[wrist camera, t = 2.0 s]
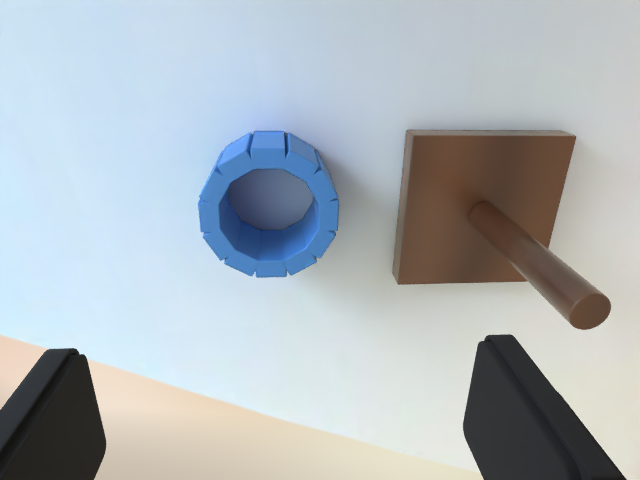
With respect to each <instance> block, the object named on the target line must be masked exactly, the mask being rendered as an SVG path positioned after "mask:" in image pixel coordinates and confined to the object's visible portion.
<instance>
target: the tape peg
mask: <svg viewBox="0 0 640 480" xmlns="http://www.w3.org/2000/svg"><path fill="white" fill-rule="evenodd" d="M575 139H576V136H575V135H572V134H569V133H566V132H563V131H528V130H407V131H406V140H405V150H404V160H403V171H402V181H401V191H400V201H399V211H398V222H397V232H396V242H395V252H394V263H393V275H394V277H395V279H396V281H397V283H398V284H399V285H400V284H442V283H483V282H524V281H528V282H529V283H530V284H531V285H532V286H533V287H534V288H535V289H536V290H537V291H538V292H539V293H540V294H541V295H542V296H543V297H544V298H545V299H546V300H547V301H548V302H549V303H550V304H551V305H552V306H553V307H554V308H555V309H556V310H557V311H558V312H559V313H560V314H561V315H562V316H563V317H564V318H565V319H566V320H567V321H568V322H569V323H570V324H571V325H572V326H573V327H575V328H577V329H582V330H587V329H591V328H594V327H596V326H598V325H600V324H601V323H602V322H603V321H605V319H606V318H607V317H608V315H609V313H610V310H611V304H610V301H609V299H608V298H607V297H606V296H605V295H604V294H603V293H601V292H600V291H599V290H598V289H596V288H595V287H594V286H593V285H591V284H590V283H589V282H588V281H587V280H585V279H584V278H583V277H582V276H580V275H579V274H578V273H577V272H575V271H574V270H573V269H572V268H571V267H569V266H568V265H567V264H566V263H564V262H563V261H562V260H561V259H559V258H558V257H557V256H556V255H554V254H553V253H552V252H551V251H550V250H548V247H549V243H550V239H551V235H552V231H553V227H554V223H555V219H556V215H557V211H558V207H559V203H560V199H561V195H562V191H563V187H564V183H565V179H566V175H567V171H568V167H569V163H570V159H571V155H572V151H573V147H574V143H575Z"/></svg>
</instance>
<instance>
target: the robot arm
mask: <svg viewBox="0 0 640 480" xmlns="http://www.w3.org/2000/svg"><path fill="white" fill-rule="evenodd" d="M463 430H464V436H465V439H466V441H467V443H468V445H469V448H470V450H471V452H472V454H473V457H474V459H475V461H476V463H477V465H478V468H479V470H480V472H481V474H482V476H483V479H484V480H626V478H625V477H624V476H623V475H622V473H621V472H620V471H619V469H618V468H617V467H616V466H615V464H614V463H613V462H612V460H611V459H610V458H609V457H608V455H607V454H606V453H605V451H604V450H603V449H602V448H601V446H600V445H599V444H598V442H597V441H596V440H595V439H594V437H593V436H592V435H591V433H590V432H589V431H588V430H587V428H586V427H585V426H584V424H583V423H582V422H581V421H580V419H579V418H578V417H577V415H576V414H575V413H574V411H573V410H572V409H571V408H570V406H569V405H568V404H567V402H566V401H565V400H564V399H563V397H562V396H561V395H560V394H559V393H558V392H557V391H556V390H555V389H554V388H553V386H552V385H551V384H550V382H549V381H548V380H547V379H546V377H545V376H544V375H543V373H542V372H541V371H540V369H539V368H538V367H537V366H536V364H535V363H534V362H533V360H532V359H531V358H530V357H529V355H528V354H527V353H526V351H525V350H524V349H523V348H522V346H521V345H520V344H519V342H518V341H517V340H516V338H515V337H514V336H513V335H510V334H509V335H488V336H486V338H485V340H484V341H481V342H479V344H478V347H477V352H476V357H475V363H474V368H473V373H472V379H471V384H470V390H469V395H468V400H467V406H466V411H465V416H464V422H463ZM105 450H106V438H105V434H104V429H103V425H102V421H101V417H100V413H99V408H98V404H97V400H96V396H95V391H94V388H93V383H92V378H91V374H90V370H89V366H88V361H87V358H86V356H85V355H83V354H81V355H79V352H78V351H77V349H74V348H69V349H49V350H47V351H46V352H44V354H43V355H42V356H41V357H40V359H39V360H38V362H37V363H36V364H35V365H34V367H33V368H32V369H31V371H30V372H29V373H28V375H27V376H26V377H25V379H24V380H23V381H22V382H21V384H20V385H19V386H18V388H17V389H16V390H15V392H14V393H13V394H12V396H11V397H10V398H9V399H8V401H7V402H6V404H5V405H4V406H3V407H2V409H1V410H0V480H94V478H95V476H96V473H97V471H98V469H99V467H100V464H101V462H102V459H103V457H104V454H105Z"/></svg>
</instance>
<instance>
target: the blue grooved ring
mask: <svg viewBox="0 0 640 480" xmlns="http://www.w3.org/2000/svg"><path fill="white" fill-rule="evenodd" d="M254 169H283V170H285V171H287V172H289V173H290V174H292V175H294V176H296V177H298V178H299V179H301V180H303V181H305V182H306V183H307V185H308V187H309V188H310V190H311V192H312V194H313V203H312V204H311V206H310V207H309V209H308V211H307V212H306V214H305V216H304V217H303V219H302V220H300V221H299V222H297V223H295V224H293V225H291V226H289V227H288V228H286V229H284V230H259V229H257V228H255V227H253V226H251V225H249V224H247V223H245V222H243V221H241V219H240V218H239V216H238V215H237V213H236V212H235V211H234V209H233V208H232V206H231V205H230V203H229V197H228V188H229V186H230V184H231V182H233V181H235V180H236V179H238V178H240V177H242V176H243V175H245V174H247V173H249V172H250V171H252V170H254ZM199 197H200V200H199V202H198V208H199V218H200V228H201V232H204V234H203V238H204V239H205V241H206V242H207V243H208V245H209V246H210V247H211V249H212V250H213V251H214V253H215V254H216V255H217V257H218V258H219V259H220V261H221V260H223V259H225V262H224V264H226V265H228V266H230V267H232V268H234V269H236V270H239V271H241V272H243V273H245V274H247V275H249V276H253V274H254V272H255V271H256V277H286V276H287V271H288V273H289V274H290V275H293V274H295V273H297V272H299V271H301V270H303V269H305V268H306V267H308V266H310V265H312V264H314V263H316V262H317V259H316V257H318V258H321V257H322V255H323V254H324V252H325V251H326V249H327V248H328V246H329V245H330V243H331V242H332V240H333V239H334V237H335V236H336V233H335V231H337V230H338V213H339V201H338V198H337V197H338V196H337V193H336V190H335V187H334V184H333V182H332V179H331V176H330V173H329V171H328V170H327V168H326V166H325V164H324V163H323V161H322V159H321V157H320V156H319V154H318V152H317V150H315V151H314V149H313V146H311V145H309V144H307V143H306V142H304V141H302V140H301V139H299V138H297V137H295V136H294V135H292V134H290V133H288V134H287V135H286V137H285V135H284V131H255V132H254V136H253V135H252V134H251V133H248V134H247V135H245V136H243V137H241V138H240V139H238V140H236V141H235V142H233V143H231V144H230V145H228V146H226V148H225V150H224V151H222V152H221V154H220V156H219V158H218V160H217V162H216V164H215V165H214V167H213V169H212V171H211V173H210V175H209V177H208V179H207V181H206V184H205V186H204V188H203V190H202V192H201V194H200V196H199Z"/></svg>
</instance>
